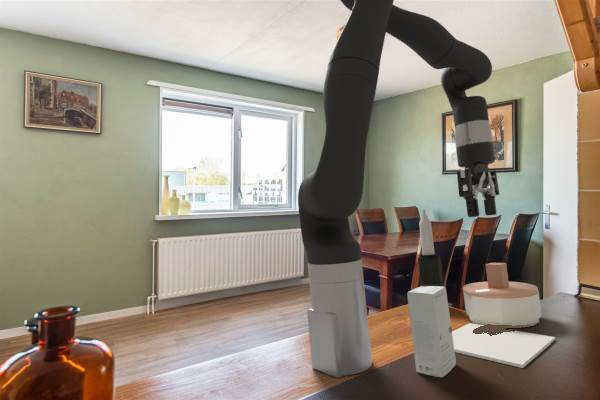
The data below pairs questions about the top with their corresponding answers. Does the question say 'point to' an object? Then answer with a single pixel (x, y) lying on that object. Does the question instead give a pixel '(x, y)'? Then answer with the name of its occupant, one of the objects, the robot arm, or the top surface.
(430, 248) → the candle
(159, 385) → the top surface
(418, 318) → the skincare box
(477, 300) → the bowl
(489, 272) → the lid
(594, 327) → the top surface
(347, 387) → the top surface
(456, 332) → the mat
